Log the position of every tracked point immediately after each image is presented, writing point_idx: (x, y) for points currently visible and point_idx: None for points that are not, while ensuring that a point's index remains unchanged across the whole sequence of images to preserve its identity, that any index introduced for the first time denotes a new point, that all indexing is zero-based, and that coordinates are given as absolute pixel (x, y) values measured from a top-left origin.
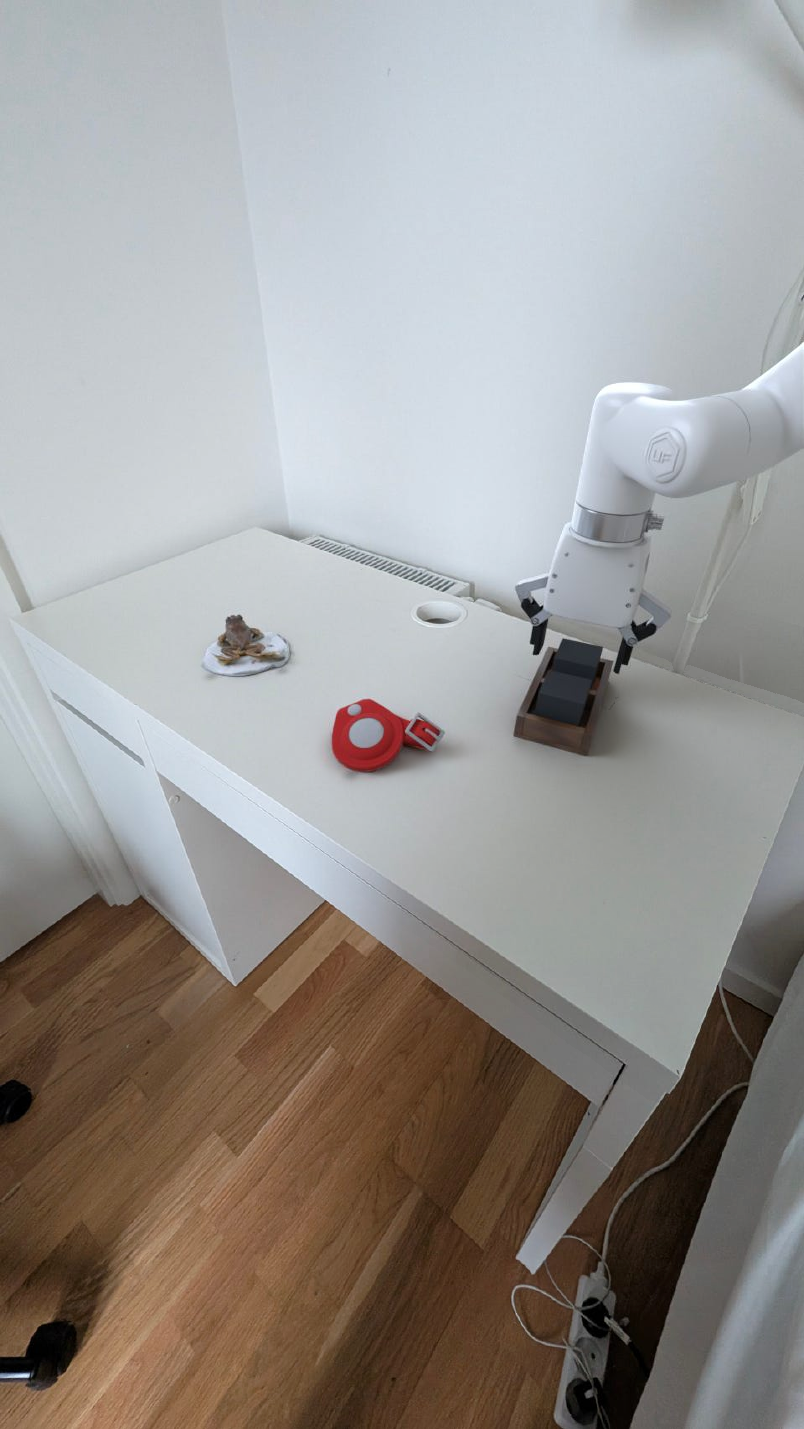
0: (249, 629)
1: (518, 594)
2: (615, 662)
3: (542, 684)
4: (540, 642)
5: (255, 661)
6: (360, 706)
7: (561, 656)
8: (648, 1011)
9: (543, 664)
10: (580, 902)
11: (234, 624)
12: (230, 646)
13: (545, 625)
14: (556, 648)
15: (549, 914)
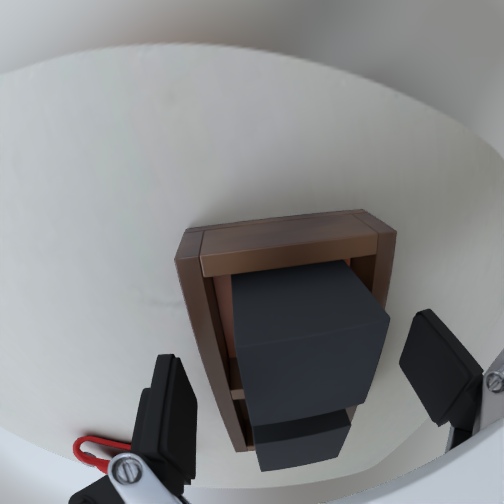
0: None
1: None
2: (411, 332)
3: (259, 463)
4: (195, 439)
5: None
6: (88, 464)
7: (267, 416)
8: (365, 467)
9: (208, 352)
10: (335, 465)
11: None
12: None
13: (184, 464)
14: (205, 256)
15: (318, 473)
